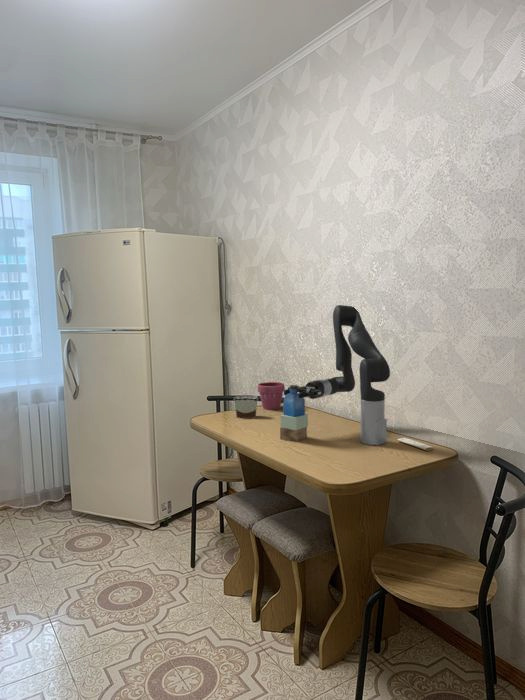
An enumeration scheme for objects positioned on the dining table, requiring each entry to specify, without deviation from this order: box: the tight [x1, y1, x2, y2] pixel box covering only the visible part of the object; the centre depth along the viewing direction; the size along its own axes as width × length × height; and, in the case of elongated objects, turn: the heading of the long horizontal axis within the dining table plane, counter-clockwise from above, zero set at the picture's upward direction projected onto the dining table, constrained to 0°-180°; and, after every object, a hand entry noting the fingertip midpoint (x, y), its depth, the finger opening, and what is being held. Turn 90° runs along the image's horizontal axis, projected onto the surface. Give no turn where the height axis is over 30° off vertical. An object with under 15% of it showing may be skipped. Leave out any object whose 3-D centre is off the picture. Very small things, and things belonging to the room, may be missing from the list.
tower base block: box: [279, 426, 308, 443], centre depth 211 cm, size 8×8×5 cm
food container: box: [233, 394, 260, 419], centre depth 252 cm, size 12×6×10 cm, turn 84°
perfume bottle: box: [282, 384, 306, 417], centre depth 210 cm, size 6×6×12 cm
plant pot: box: [257, 381, 286, 411], centre depth 269 cm, size 14×14×13 cm
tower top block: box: [280, 413, 309, 430], centre depth 211 cm, size 8×8×5 cm
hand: (291, 394), depth 209 cm, fingers open, 8 cm apart
